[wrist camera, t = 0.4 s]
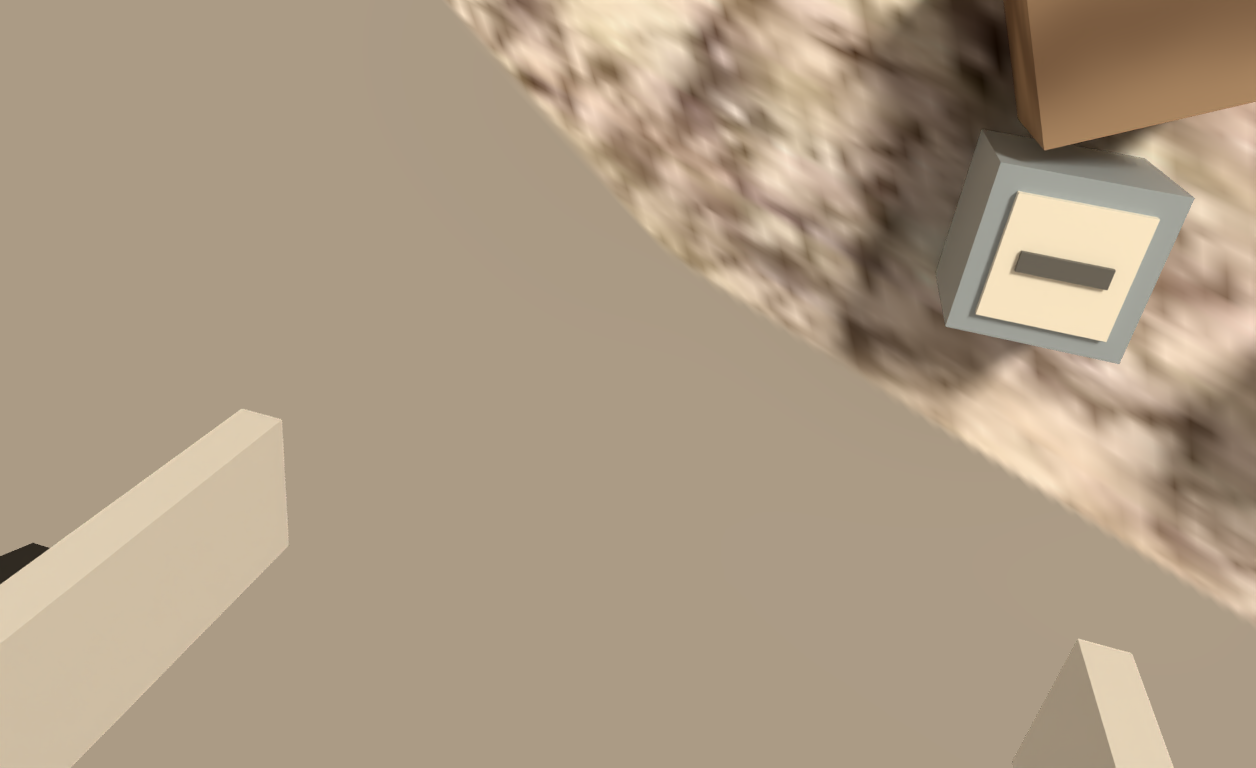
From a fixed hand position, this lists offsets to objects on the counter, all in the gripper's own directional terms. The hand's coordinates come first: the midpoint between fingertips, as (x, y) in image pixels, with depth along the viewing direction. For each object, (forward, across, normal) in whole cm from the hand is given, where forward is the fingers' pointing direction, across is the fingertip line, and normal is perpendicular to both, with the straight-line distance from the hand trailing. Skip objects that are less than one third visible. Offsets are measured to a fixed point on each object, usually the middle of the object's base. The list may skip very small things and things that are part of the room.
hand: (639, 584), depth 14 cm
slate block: (+26, +10, +1) cm, 28 cm away
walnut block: (+26, +10, +9) cm, 29 cm away
